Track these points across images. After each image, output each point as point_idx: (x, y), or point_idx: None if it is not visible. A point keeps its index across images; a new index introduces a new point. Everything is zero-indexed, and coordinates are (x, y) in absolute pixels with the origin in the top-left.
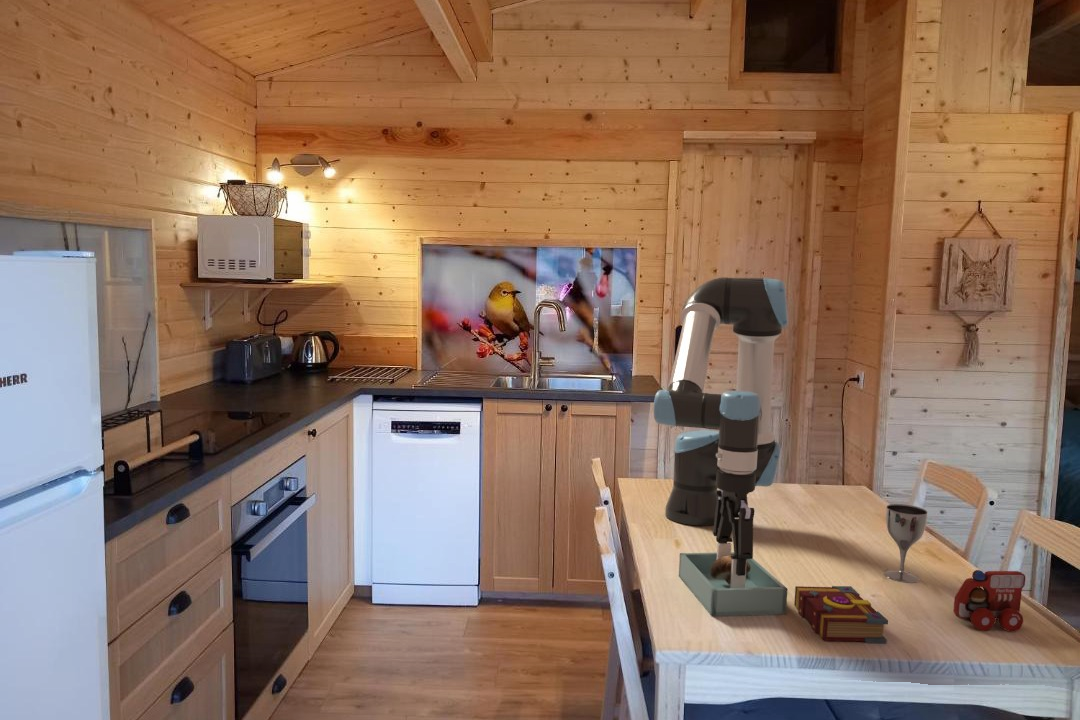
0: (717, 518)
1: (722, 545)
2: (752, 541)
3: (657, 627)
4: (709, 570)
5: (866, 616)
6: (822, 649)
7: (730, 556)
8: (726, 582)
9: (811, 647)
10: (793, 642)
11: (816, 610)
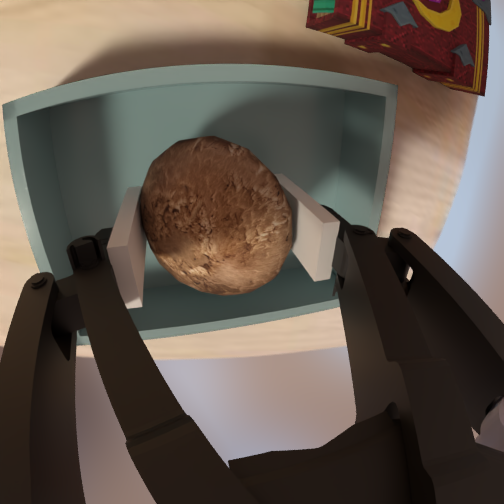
0: (72, 415)
1: (137, 286)
2: (456, 275)
3: (339, 346)
4: (65, 228)
5: (479, 7)
6: (463, 112)
7: (241, 259)
8: (138, 184)
9: (457, 126)
10: (442, 146)
11: (463, 84)
